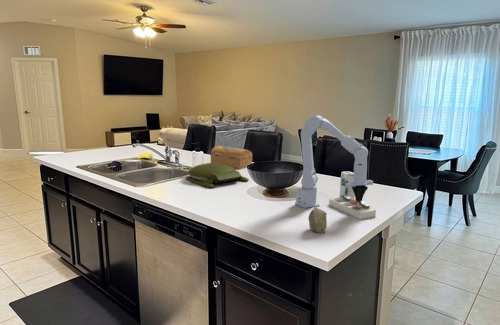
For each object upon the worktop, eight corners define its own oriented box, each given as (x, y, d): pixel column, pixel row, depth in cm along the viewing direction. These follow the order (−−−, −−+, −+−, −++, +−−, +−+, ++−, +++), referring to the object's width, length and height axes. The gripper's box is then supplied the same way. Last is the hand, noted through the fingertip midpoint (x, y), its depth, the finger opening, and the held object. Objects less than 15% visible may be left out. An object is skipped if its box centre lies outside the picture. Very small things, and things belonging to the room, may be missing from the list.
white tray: (359, 219, 152) (360, 212, 151) (329, 204, 172) (329, 198, 171) (375, 216, 156) (376, 209, 155) (343, 202, 175) (343, 196, 175)
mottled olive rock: (315, 239, 135) (312, 219, 131) (303, 229, 143) (300, 209, 138) (334, 229, 138) (332, 209, 134) (322, 219, 145) (319, 200, 141)
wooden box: (253, 166, 263) (253, 148, 260) (239, 170, 250) (239, 151, 248) (224, 161, 282) (224, 144, 279) (210, 164, 269) (210, 146, 266)
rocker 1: (356, 203, 161) (356, 200, 161) (349, 202, 165) (349, 199, 165) (360, 202, 162) (360, 199, 162) (354, 201, 166) (353, 198, 166)
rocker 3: (347, 201, 167) (347, 198, 166) (341, 197, 170) (341, 194, 170) (351, 200, 168) (351, 198, 167) (345, 196, 171) (346, 194, 171)
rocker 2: (364, 208, 156) (365, 206, 156) (358, 204, 160) (358, 201, 159) (369, 207, 157) (369, 205, 157) (362, 203, 161) (363, 201, 160)
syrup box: (338, 198, 183) (340, 171, 180) (348, 197, 185) (350, 170, 182) (345, 201, 177) (347, 174, 175) (354, 200, 179) (356, 173, 177)
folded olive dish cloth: (250, 181, 217) (250, 166, 215) (209, 190, 198) (209, 173, 196) (218, 172, 243) (218, 158, 241) (179, 178, 224) (179, 163, 222)
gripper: (353, 175, 153) (352, 205, 155) (378, 172, 158) (376, 201, 161) (343, 172, 159) (342, 201, 161) (367, 170, 165) (366, 197, 167)
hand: (358, 201), depth 162 cm, fingers closed, pressing on rocker 1
